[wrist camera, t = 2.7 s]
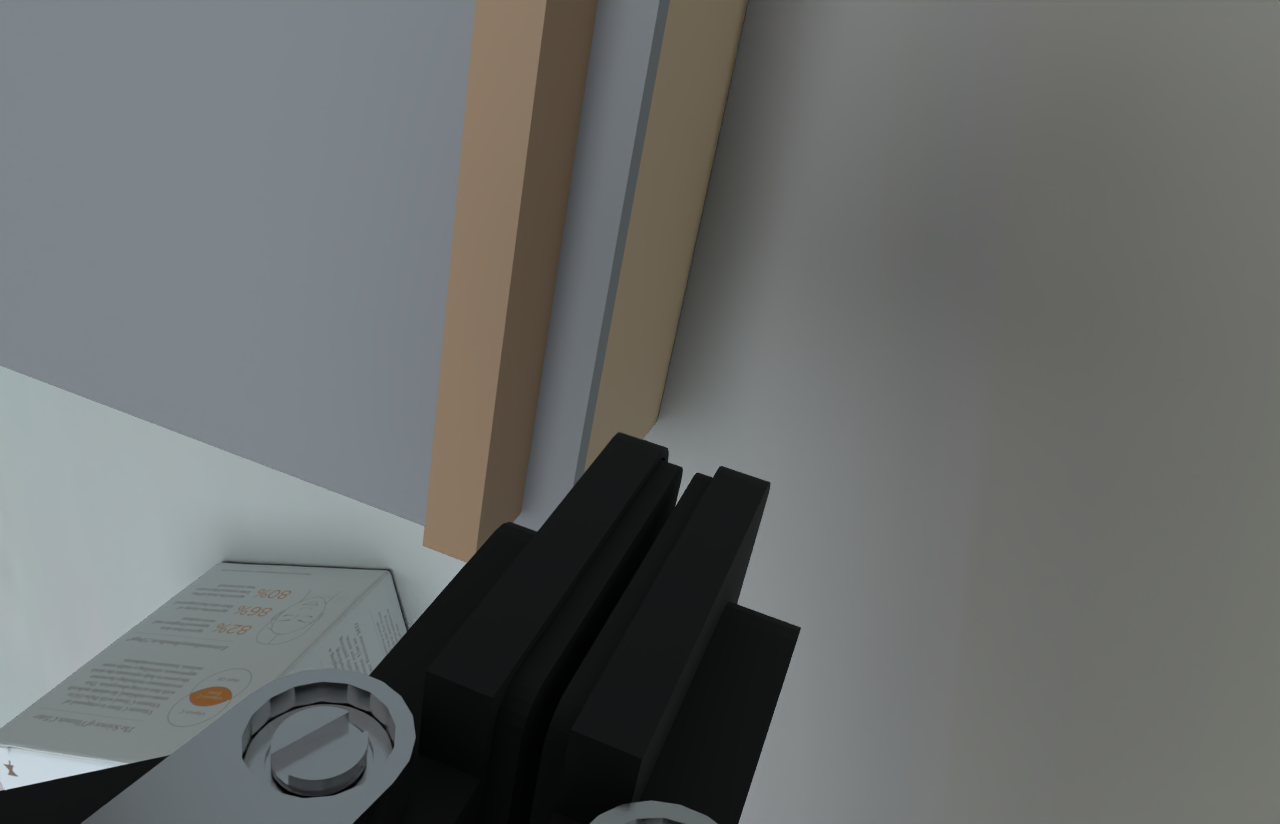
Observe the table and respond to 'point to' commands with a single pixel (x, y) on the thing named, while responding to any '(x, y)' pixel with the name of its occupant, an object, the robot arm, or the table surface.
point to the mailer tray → (666, 213)
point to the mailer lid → (331, 232)
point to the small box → (201, 665)
